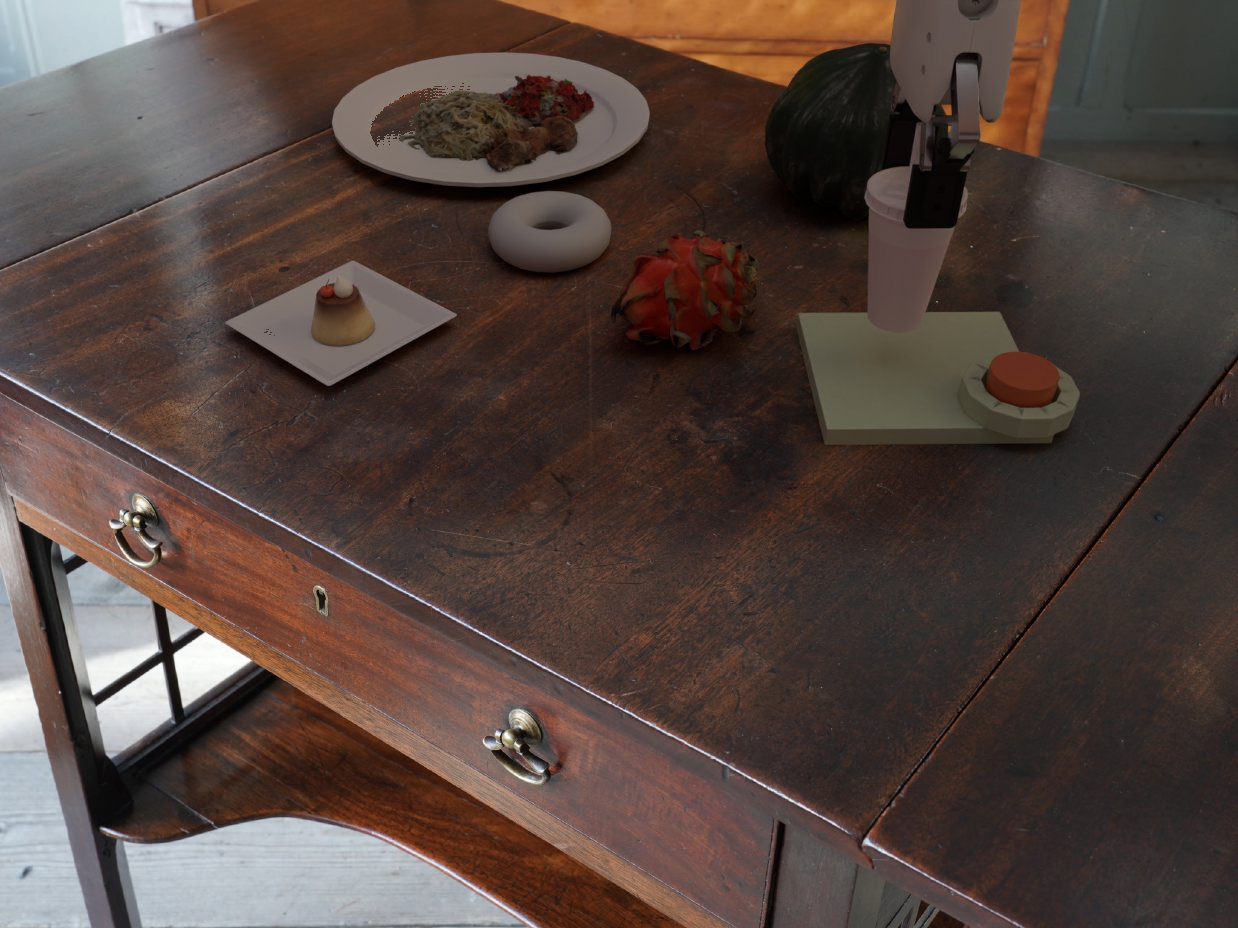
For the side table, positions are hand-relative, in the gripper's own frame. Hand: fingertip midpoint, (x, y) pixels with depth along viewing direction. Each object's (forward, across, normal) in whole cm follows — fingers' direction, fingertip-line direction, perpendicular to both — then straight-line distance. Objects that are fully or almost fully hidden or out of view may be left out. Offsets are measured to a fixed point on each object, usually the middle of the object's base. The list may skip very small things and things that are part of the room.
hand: (917, 196), depth 77 cm
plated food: (+14, +41, +30) cm, 53 cm away
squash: (+14, +27, -2) cm, 30 cm away
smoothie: (+9, 0, 0) cm, 9 cm away
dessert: (+14, +6, +39) cm, 42 cm away
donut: (+14, +18, +24) cm, 33 cm away
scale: (+14, -1, -2) cm, 14 cm away
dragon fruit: (+14, +5, +14) cm, 20 cm away
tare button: (+11, -6, -7) cm, 15 cm away
